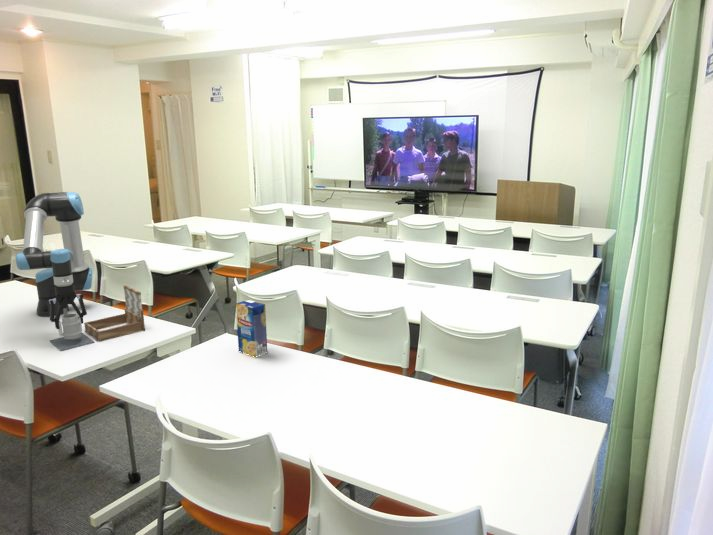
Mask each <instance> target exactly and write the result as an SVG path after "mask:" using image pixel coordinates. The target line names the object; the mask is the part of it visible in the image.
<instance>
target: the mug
mask: <svg viewBox="0 0 713 535" xmlns="http://www.w3.org/2000/svg"><path fill="white" fill-rule="evenodd" d="M63 310H64V314H63V316H61V320H62V321H61V326H62V333H63V336H62V337H64V338H65V339H75V338H78V337H80V336H81V333H83V330H82V331H81V330H80V324H79V323H80V321H79V319H78V314H77V313H68V312H67V309H66V308H64V309H63Z"/></svg>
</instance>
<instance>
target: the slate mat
mask: <svg viewBox="0 0 713 535" xmlns="http://www.w3.org/2000/svg"><path fill="white" fill-rule="evenodd" d="M49 342H50V343H51V344H52V345H53V346H54V347H55V348H57V350H59V351H60V352H64V351H68V350H70V349H71V350H72V349H76V348H79V347H83V346H87V345H91V344H95V341H94V340H93V339H92V338H90V337H89V336H87V335H86V334H85V333H83V332H82V333H81V336H80V337H78V338H75V339H65V338H64V336H60V337H58V338H54V339H49Z"/></svg>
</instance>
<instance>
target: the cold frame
mask: <svg viewBox="0 0 713 535" xmlns="http://www.w3.org/2000/svg"><path fill="white" fill-rule="evenodd" d="M123 291H124V300H125V301H124V302H125V309H124V313H122V314H118V315H113V316H109V317H104V318H100V319H95V320H92V321H86V322H83V324H84V331H85V333H87V335H89V336H90V337H92V338H93V339H95V340H96V341H98V343H100V342H103V341H107V340H111V339H114V338H118V337H123V336H127V335H130V334H136V333H139V332H146V325H145V318H144V317H145V316H144V311H143V303H142V294H141V293H142V292H141V291H139V290H137V289H134V288H132V287H131V286H128V285H126V284H124V285H123ZM122 324H123V325H122ZM124 324H125V325H124ZM118 325H119V326H118ZM115 326H116V327H115ZM108 327H109V328H108ZM110 327H112V328H110ZM105 328H108V329H105ZM101 329H103V330H101Z"/></svg>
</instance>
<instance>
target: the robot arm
mask: <svg viewBox="0 0 713 535" xmlns="http://www.w3.org/2000/svg"><path fill="white" fill-rule="evenodd" d="M84 213H85V211H84V206H83V201H82V199H81V196H80V194H79V193H78V192H74V191H73V192H72V191H70V192H69V191H65V192H64V191H63V192H62V191H61V192H41V193H39V194H37V195H36V196H34V197H33V198H32V199H30V200H29V202H28V203H26V206H25V208H24V212H23V217H24V219H25V227H24V236H23V246H22V252H20V253H17V254H16V255H15V263H16V267H17V269H18V270H19V271H31V270H39V271H37V272H36V274H35V286H36V291H37V292H36V293H37V297H38V302H37V306H36V310H35V312H36V315H37V316H39V317H49V321H50V322H52V323H54V327H55V329H56V330H58V335H59V337H64V336H63V326H62V321H60V318H61V317H62V316H61V315H64V310H63V309H64V308H66V309H67V313H68V312H69V311H70V306H69V305H71V306H72V308H73V310H74V311H75V312H76V314H77V315H78V319H79V321H80V323H79V324H80V330H81V331H82V332H83V326H82V324H84V316H86V315H87V314H88V313H87V309H86V306H85V303H84V295H83V294H81V293H78V294H77V293H76V292H79V291H80V292H83V291H87V290H90V289H92V285H93V268H92V267H89V264H88V263H87V262H85V261H86V260H85V255H84V248H83V241H82V236H81V228H80V223H79V221H80V220H82V216H83V215H84ZM49 217H55V221H57V222H58V223H59V226H60V233H61V239H62V243H63V244H62V245H63V248H60V249H54V250H51V251H50V250H48V251H43V248H44V247H43V244H44V232H45V221H46V220H47V218H49ZM40 269H42V270H40ZM76 298H77V300H78V304H79V307H80V309H79V307H78V306H77V304H76V302H75V300H76Z"/></svg>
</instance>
